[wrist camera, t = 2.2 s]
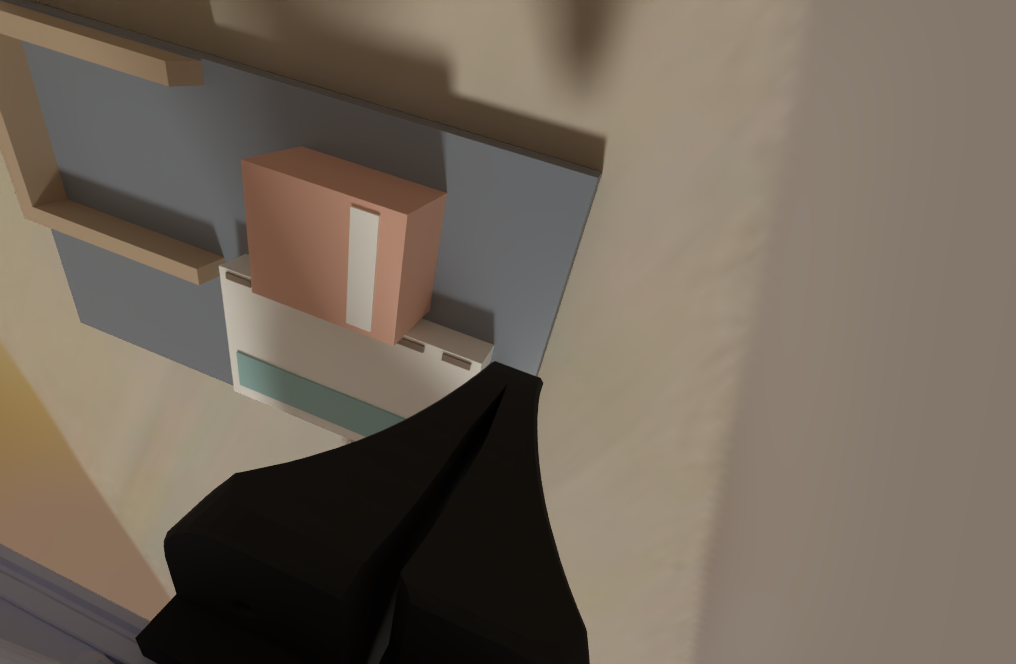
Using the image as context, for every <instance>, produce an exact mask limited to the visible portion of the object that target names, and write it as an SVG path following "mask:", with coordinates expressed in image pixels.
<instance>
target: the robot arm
mask: <svg viewBox="0 0 1016 664" xmlns="http://www.w3.org/2000/svg"><path fill="white" fill-rule="evenodd" d="M542 385H543V382H542V380H541V378H539V377H537V376H534V375H531V374H529V373H526V372H523V371H521V370H518V369H515V368H513V367H510V366H507V365H505V364H502V363H499V362H496V361H494V362H492V363H490V364H489V365H488V366H486V367H485V368H484V369H483V370H481V371H480V372H479V373H478V374H476V375H475V376H474V377H472V378H471V379H470V380H468V381H467V382H466V383H464V384H463V385H461V386H460V387H458V388H457V389H455V390H454V391H452V392H451V393H449V394H448V395H446V396H445V397H443V398H442V399H440V400H439V401H437V402H435V403H434V404H432V405H430V406H428V407H427V408H425V409H423V410H421V411H420V412H418V413H416V414H415V415H413V416H411V417H409V418H407V419H405V420H403V421H401V422H399V423H397V424H395V425H393V426H391V427H389V428H386V429H384V430H382V431H380V432H377V433H375V434H373V435H370V436H368V437H365V438H363V439H360V440H358V441H355V442H353V443H350V444H347V445H344V446H341V447H339V448H336V449H332V450H329V451H326V452H322V453H319V454H316V455H313V456H309V457H306V458H303V459H299V460H295V461H291V462H287V463H283V464H278V465H273V466H268V467H264V468H259V469H254V470H250V471H245V472H239V473H235V474H234V475H232V476H231V477H230V478H229V479H228V480H226V481H225V482H223V483H222V484H221V485H219V486H218V487H217V488H215V489H214V490H213V491H212V492H211V493H210V494H208V495H207V496H206V497H205V498H204V499H203V500H202V501H201V502H199V503H198V504H197V505H196V506H195V507H194V508H193V509H192V510H191V511H190V512H189V513H188V514H186V515H185V516H184V517H183V518H182V519H181V520H180V521H179V522H178V523H177V524H176V525H174V526H173V527H172V528H171V529H170V530H169V531H168V532H167V534H166V537H165V539H164V552H165V558H166V561H167V564H168V568H169V571H170V574H171V577H172V581H173V584H174V587H175V590H176V595H175V596H174V597H173V598H172V600H171V601H170V602H169V603H168V604H167V605H166V606H165V607H164V608H163V609H162V610H161V611H160V612H159V613H158V614H157V616H155V618H154V619H153V620H152V621H149V620H147V619H145V618H143V617H141V616H139V615H137V614H135V613H133V612H132V611H130V610H128V609H126V608H124V607H122V606H120V605H118V604H116V603H114V602H112V601H110V600H108V599H106V598H104V597H102V596H100V595H99V594H97V593H95V592H93V591H91V590H89V589H87V588H85V587H83V586H81V585H79V584H77V583H75V582H73V581H72V580H70V579H67V578H66V577H64V576H62V575H60V574H58V573H56V572H54V571H52V570H50V569H48V568H46V567H44V566H43V565H41V564H39V563H37V562H35V561H33V560H31V559H29V558H27V557H25V556H23V555H21V554H19V553H17V552H15V551H13V550H11V549H10V548H8V547H6V546H4V545H2V544H0V664H590V663H589V649H588V639H587V630H586V627H585V625H584V622H583V620H582V618H581V615H580V613H579V610H578V608H577V605H576V603H575V600H574V598H573V595H572V592H571V590H570V587H569V584H568V581H567V579H566V576H565V573H564V570H563V567H562V564H561V561H560V558H559V554H558V551H557V547H556V543H555V540H554V536H553V533H552V529H551V526H550V522H549V518H548V513H547V508H546V504H545V499H544V493H543V487H542V481H541V474H540V466H539V455H538V437H537V415H538V403H539V396H540V392H541V389H542Z"/></svg>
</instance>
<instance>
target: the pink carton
mask: <svg viewBox="0 0 1016 664" xmlns="http://www.w3.org/2000/svg"><path fill="white" fill-rule="evenodd" d="M241 168H242V180H243V192H244V204H245V215H246V227H247V239H248V251H249V262H250V274H251V286H252V293H255V294H257V295H260V296H263V297H265V298H268V299H271V300H273V301H276V302H278V303H281V304H284V305H286V306H289V307H292V308H294V309H297V310H300V311H302V312H305V313H307V314H310V315H313V316H315V317H318V318H321V319H323V320H326V321H329V322H331V323H334V324H336V325H339V326H342V327H344V328H347V329H350V330H352V331H355V332H358V333H360V334H363V335H365V336H368V337H371V338H373V339H376V340H379V341H381V342H384V343H387V344H389V345H392V346H394V345H395V344H396V343H397V342H398V341H399V340H400V339H401V338H402V337H403V336H404V335H405V334H406V333H407V332H408V331H409V330H411V329H412V328H413V327H414V326H415V325H416V324H417V323H418V322H419V321H420V320H421V319H422V318H423V317H424V316H425V315H426V314H427V313H428V312H429V311H430V305H431V298H432V291H433V285H434V278H435V271H436V264H437V257H438V251H439V244H440V237H441V230H442V224H443V217H444V210H445V203H446V197H447V193H445V192H442V191H439V190H436V189H433V188H430V187H427V186H424V185H421V184H417V183H414V182H411V181H408V180H405V179H402V178H399V177H396V176H393V175H390V174H386V173H383V172H380V171H377V170H374V169H371V168H368V167H365V166H362V165H358V164H355V163H352V162H349V161H346V160H343V159H340V158H337V157H334V156H330V155H327V154H324V153H321V152H318V151H315V150H312V149H309V148H306V147H302V146H300V147H296V148H291V149H286V150H282V151H277V152H272V153H268V154H263V155H259V156H254V157H249V158H245V159H241Z"/></svg>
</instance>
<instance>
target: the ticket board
mask: <svg viewBox="0 0 1016 664" xmlns="http://www.w3.org/2000/svg"><path fill="white" fill-rule="evenodd" d="M300 146H302V147H306V148H309V149H312V150H315V151H318V152H321V153H324V154H327V155H330V156H334V157H337V158H340V159H343V160H346V161H349V162H352V163H355V164H358V165H362V166H365V167H368V168H371V169H374V170H377V171H380V172H383V173H386V174H390V175H393V176H396V177H399V178H402V179H405V180H408V181H411V182H414V183H417V184H421V185H424V186H427V187H430V188H433V189H436V190H439V191H442V192H445V193H447V197H446V203H445V210H444V217H443V224H442V230H441V237H440V244H439V251H438V257H437V264H436V271H435V278H434V285H433V291H432V298H431V305H430V311H429V312H428V313H427V314H426V315H425V316H424V317H423V318H422V319H421V320H420V321H419V322H418V323H417V324H416V325H415V326H414V327H413V328H412V329H411V330H409V331H408V332H407V333H406V334H405V335H404V336H403V337H402V338H401V339H400V340H399V341H398V342H397V343H396V344H395V345H394V346H392V345H389V344H387V343H384V342H381V341H379V340H376V339H373V338H371V337H368V336H365V335H363V334H360V333H358V332H355V331H352V330H350V329H347V328H344V327H342V326H339V325H336V324H334V323H331V322H329V321H326V320H323V319H321V318H318V317H315V316H313V315H310V314H307V313H305V312H302V311H300V310H297V309H294V308H292V307H289V306H286V305H284V304H281V303H278V302H276V301H273V300H271V299H268V298H265V297H263V296H260V295H257V294H255V293H252V286H251V274H250V262H249V251H248V239H247V227H246V215H245V204H244V192H243V180H242V168H241V159H245V158H249V157H254V156H259V155H263V154H268V153H272V152H277V151H282V150H286V149H291V148H296V147H300ZM0 149H1V152H2V154H3V157H4V160H5V163H6V166H7V169H8V172H9V175H10V178H11V180H12V183H13V186H14V189H15V192H16V195H17V198H18V201H19V204H20V206H21V209H22V212H23V215H24V218H25V219H28V220H30V221H33V222H36V223H38V224H41V225H43V226H46V227H49V228H51V230H52V233H53V236H54V240H55V243H56V246H57V249H58V252H59V255H60V258H61V262H62V265H63V268H64V271H65V274H66V277H67V280H68V283H69V287H70V290H71V293H72V296H73V299H74V302H75V305H76V309H77V312H78V315H79V318H80V321H81V323H84V324H86V325H89V326H91V327H94V328H96V329H98V330H101V331H103V332H106V333H108V334H110V335H113V336H115V337H118V338H120V339H122V340H125V341H127V342H130V343H132V344H134V345H137V346H139V347H142V348H144V349H146V350H149V351H151V352H154V353H156V354H159V355H161V356H163V357H166V358H168V359H171V360H173V361H175V362H178V363H180V364H183V365H185V366H187V367H190V368H192V369H195V370H197V371H199V372H202V373H204V374H207V375H209V376H211V377H214V378H216V379H219V380H221V381H224V382H226V383H228V384H231V385H233V386H234V391H236V392H238V393H241V394H243V395H245V396H248V397H250V398H253V399H255V400H257V401H260V402H262V403H265V404H267V405H269V406H272V407H274V408H277V409H279V410H281V411H284V412H286V413H289V414H291V415H293V416H296V417H298V418H301V419H303V420H305V421H308V422H310V423H313V424H315V425H317V426H320V427H322V428H325V429H327V430H329V431H332V432H334V433H337V434H339V435H341V436H344V437H346V438H349V439H351V440H353V441H358V440H360V439H363V438H365V437H368V436H370V435H373V434H375V433H377V432H380V431H382V430H384V429H386V428H389V427H391V426H393V425H395V424H397V423H399V422H401V421H403V420H405V419H407V418H409V417H411V416H413V415H415V414H416V413H418V412H420V411H421V410H423V409H425V408H427V407H428V406H430V405H432V404H434V403H435V402H437V401H439V400H440V399H442V398H443V397H445V396H446V395H448V394H449V393H451V392H452V391H454V390H455V389H457V388H458V387H460V386H461V385H463V384H464V383H466V382H467V381H468V380H470V379H471V378H472V377H474V376H475V375H476V374H478V373H479V372H480V371H481V370H483V369H484V368H485V367H486V366H488V365H489V364H490V363H492V362H494V361H496V362H499V363H502V364H505V365H507V366H510V367H513V368H515V369H518V370H521V371H523V372H526V373H529V374H531V375H534V376H538V373H539V370H540V367H541V363H542V360H543V357H544V354H545V351H546V348H547V345H548V341H549V338H550V335H551V332H552V329H553V326H554V323H555V320H556V316H557V313H558V310H559V307H560V304H561V301H562V298H563V294H564V291H565V288H566V285H567V282H568V279H569V276H570V272H571V269H572V266H573V263H574V260H575V257H576V254H577V250H578V247H579V244H580V241H581V238H582V235H583V232H584V228H585V225H586V222H587V219H588V216H589V213H590V210H591V206H592V203H593V200H594V197H595V194H596V191H597V188H598V185H599V181H600V178H601V175H602V172H600V171H597V170H593V169H590V168H587V167H583V166H580V165H577V164H573V163H570V162H567V161H563V160H560V159H557V158H553V157H550V156H547V155H543V154H540V153H537V152H533V151H530V150H527V149H523V148H520V147H517V146H513V145H510V144H507V143H503V142H500V141H497V140H493V139H490V138H487V137H483V136H480V135H476V134H473V133H470V132H466V131H463V130H460V129H456V128H453V127H450V126H446V125H443V124H440V123H436V122H433V121H430V120H426V119H423V118H420V117H416V116H413V115H410V114H406V113H403V112H400V111H396V110H393V109H390V108H386V107H383V106H380V105H376V104H373V103H370V102H366V101H363V100H360V99H356V98H353V97H350V96H346V95H343V94H339V93H336V92H333V91H329V90H326V89H323V88H319V87H316V86H313V85H309V84H306V83H303V82H299V81H296V80H293V79H289V78H286V77H283V76H279V75H276V74H273V73H269V72H266V71H263V70H259V69H256V68H253V67H249V66H246V65H243V64H239V63H236V62H233V61H229V60H226V59H223V58H219V57H216V56H213V55H209V54H206V53H203V52H199V51H196V50H192V49H189V48H186V47H182V46H179V45H176V44H172V43H169V42H166V41H162V40H159V39H156V38H152V37H149V36H146V35H142V34H139V33H136V32H132V31H129V30H126V29H122V28H119V27H116V26H112V25H109V24H106V23H102V22H99V21H96V20H92V19H89V18H86V17H82V16H79V15H76V14H72V13H69V12H66V11H62V10H59V9H55V8H52V7H49V6H45V5H42V4H39V3H35V2H32V1H29V0H0Z"/></svg>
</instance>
